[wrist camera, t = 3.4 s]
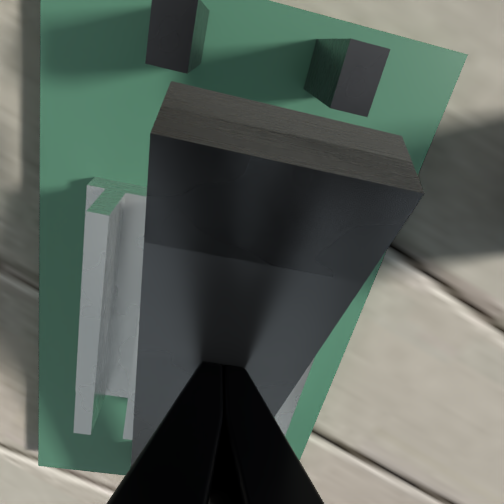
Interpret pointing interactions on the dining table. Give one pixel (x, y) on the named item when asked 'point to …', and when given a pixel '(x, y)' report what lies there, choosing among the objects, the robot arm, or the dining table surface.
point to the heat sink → (134, 209)
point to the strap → (256, 240)
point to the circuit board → (137, 158)
